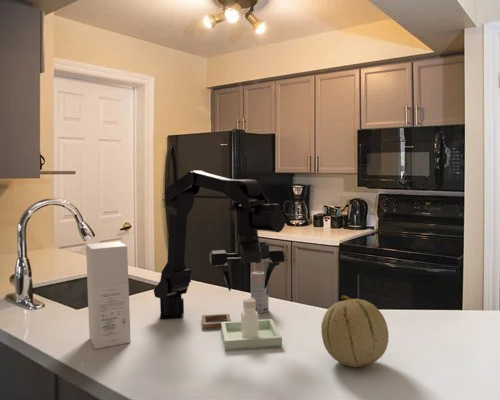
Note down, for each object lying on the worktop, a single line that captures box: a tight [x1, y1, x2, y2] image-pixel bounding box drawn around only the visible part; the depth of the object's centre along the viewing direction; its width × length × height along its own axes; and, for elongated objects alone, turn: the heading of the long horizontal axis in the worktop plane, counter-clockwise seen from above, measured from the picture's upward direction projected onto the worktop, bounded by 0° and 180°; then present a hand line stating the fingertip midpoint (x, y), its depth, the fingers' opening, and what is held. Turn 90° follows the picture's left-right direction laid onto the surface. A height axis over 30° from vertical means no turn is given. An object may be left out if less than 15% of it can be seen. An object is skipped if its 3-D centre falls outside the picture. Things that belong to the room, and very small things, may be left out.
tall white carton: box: [85, 241, 131, 350], centre depth 118 cm, size 9×9×25 cm
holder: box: [201, 313, 232, 331], centre depth 130 cm, size 8×8×2 cm
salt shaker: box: [240, 298, 260, 338], centre depth 118 cm, size 4×4×10 cm
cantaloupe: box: [320, 294, 390, 368], centre depth 102 cm, size 15×15×15 cm
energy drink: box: [250, 270, 269, 314], centre depth 141 cm, size 5×5×12 cm
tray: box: [220, 318, 283, 352], centre depth 118 cm, size 14×14×2 cm
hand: (247, 289), depth 118 cm, fingers open, 9 cm apart
